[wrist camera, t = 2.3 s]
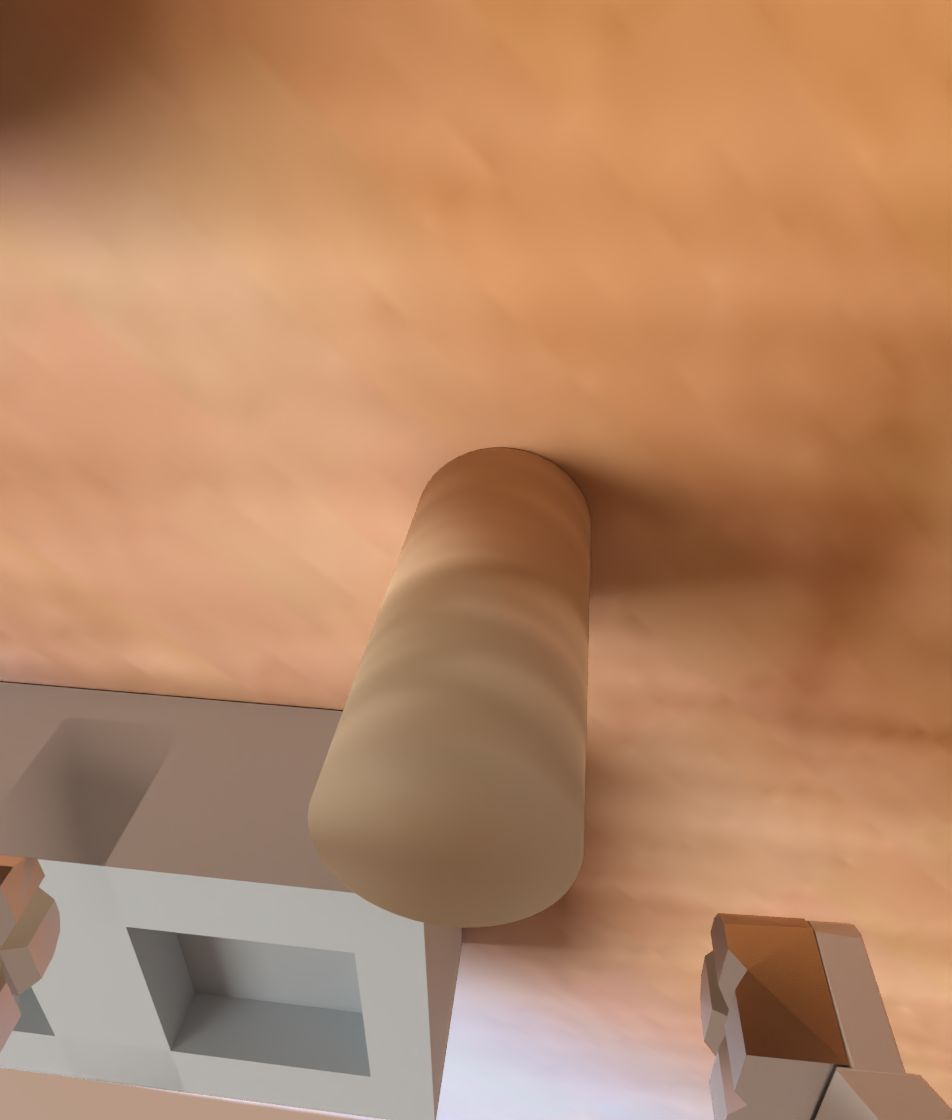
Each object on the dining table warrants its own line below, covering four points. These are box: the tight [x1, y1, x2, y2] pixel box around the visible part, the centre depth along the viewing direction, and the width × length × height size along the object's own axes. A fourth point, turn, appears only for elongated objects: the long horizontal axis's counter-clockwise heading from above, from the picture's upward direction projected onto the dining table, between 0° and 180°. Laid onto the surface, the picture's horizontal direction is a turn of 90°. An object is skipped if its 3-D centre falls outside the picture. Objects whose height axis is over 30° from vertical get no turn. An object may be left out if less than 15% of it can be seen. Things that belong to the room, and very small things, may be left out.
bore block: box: [0, 682, 462, 1120], centre depth 22 cm, size 16×9×5 cm, turn 90°
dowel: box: [308, 448, 591, 928], centre depth 15 cm, size 4×4×8 cm
